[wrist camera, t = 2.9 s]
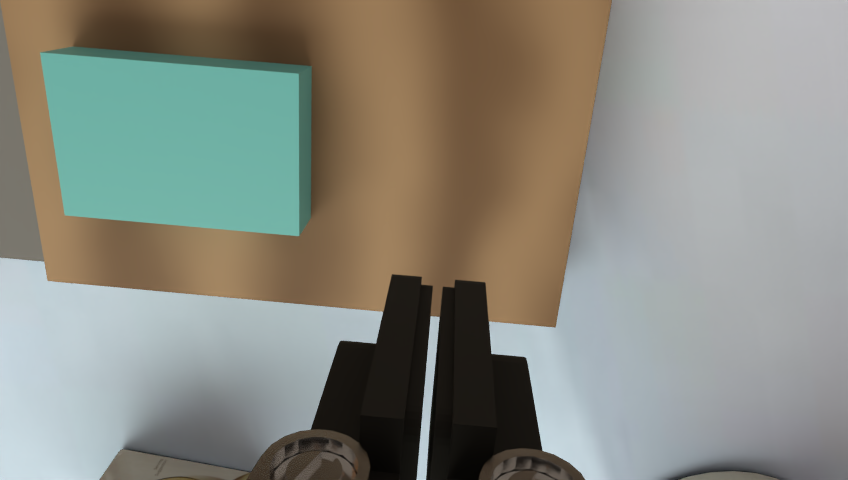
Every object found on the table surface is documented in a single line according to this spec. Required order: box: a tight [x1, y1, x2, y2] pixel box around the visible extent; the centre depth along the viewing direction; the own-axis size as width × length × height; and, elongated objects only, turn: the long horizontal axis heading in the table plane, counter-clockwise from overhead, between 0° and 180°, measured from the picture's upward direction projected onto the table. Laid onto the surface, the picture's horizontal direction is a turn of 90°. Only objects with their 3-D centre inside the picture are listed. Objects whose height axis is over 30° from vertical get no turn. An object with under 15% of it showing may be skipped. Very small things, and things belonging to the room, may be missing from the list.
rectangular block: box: [40, 47, 312, 236], centre depth 24 cm, size 9×6×2 cm, turn 86°
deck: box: [0, 0, 612, 327], centre depth 27 cm, size 22×14×4 cm, turn 86°
